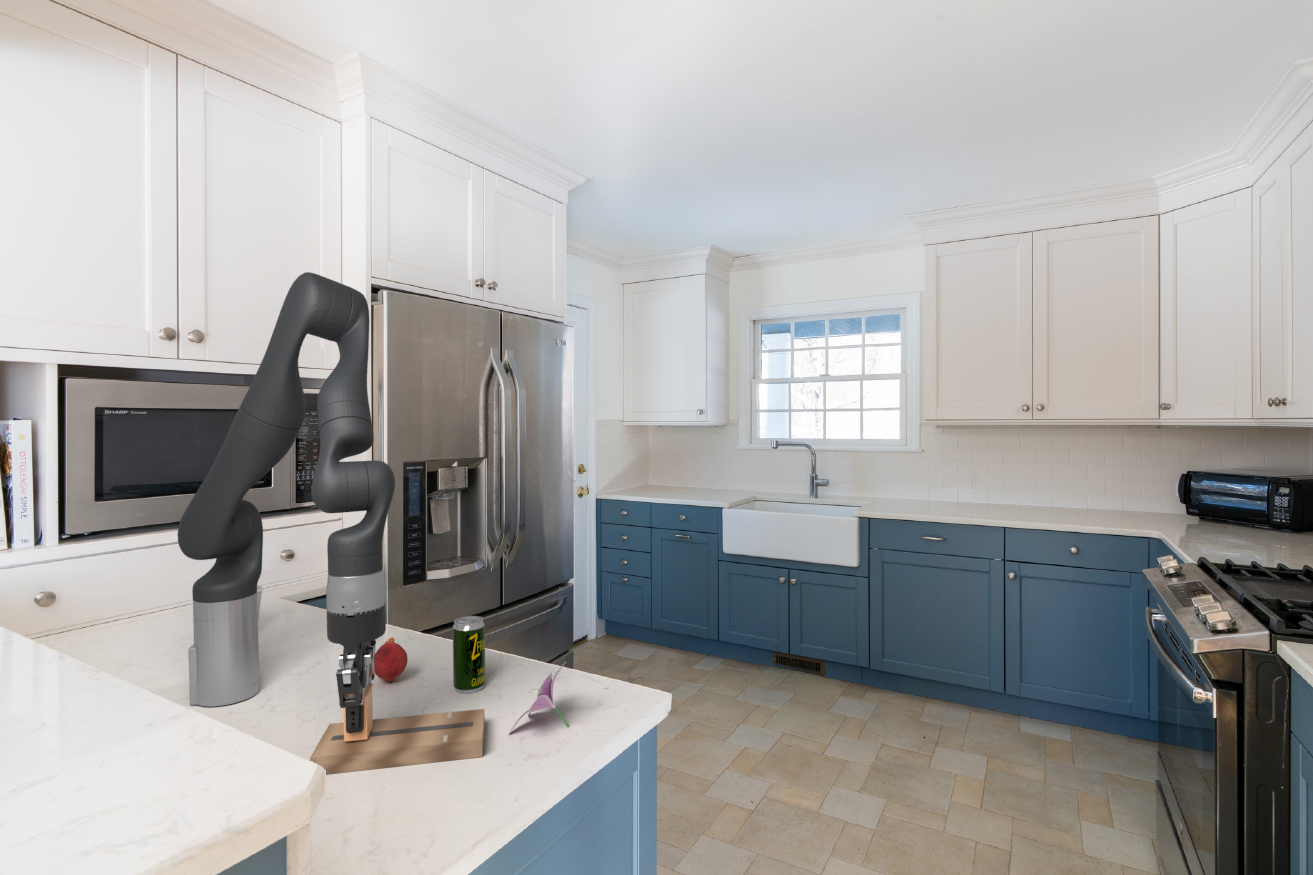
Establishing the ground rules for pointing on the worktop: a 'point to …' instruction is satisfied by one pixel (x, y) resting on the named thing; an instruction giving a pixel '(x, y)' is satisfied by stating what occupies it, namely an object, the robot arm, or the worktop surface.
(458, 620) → the green soda can
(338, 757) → the fader base
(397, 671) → the onion
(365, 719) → the fader knob
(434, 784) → the worktop surface
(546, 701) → the lily
